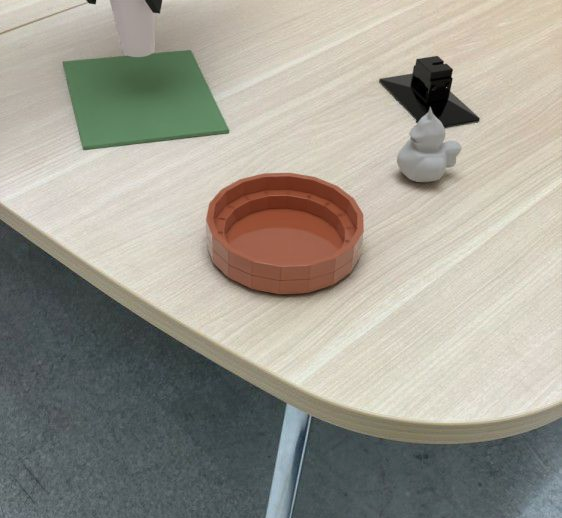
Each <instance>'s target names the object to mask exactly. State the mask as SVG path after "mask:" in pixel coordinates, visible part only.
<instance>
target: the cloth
mask: <svg viewBox="0 0 562 518" xmlns="http://www.w3.org/2000/svg"><path fill="white" fill-rule="evenodd" d="M62 66H63V70H64V75H65V78H66V79H65V80H66V82H67V83H66V84H67V87H68V91H69V95H70V99H71V104H72V108H73V113H74V116H75V121H76V125H77V129H78V133H79V137H80V142H81V145H82V150H92V149H101V148H109V147H110V148H111V147H119V146H127V145H137V144H144V143H154V142H163V141H170V140H178V139H186V138H187V139H188V138H197V137H205V136H213V135H221V134H229V133H230V129H229V126H228V125H227V123H226V119H225V118H224V117H223V114H222V111H221V110H220V108H219V106H218V104H217V102H216V100H215V97H214V96H213V94H212V91H211V89H210V87H209V85H208V83H207V81H206V78H205V77H204V75H203V72H202V71H201V69H200V67H199V64H198V62H197V59H196V58H195V56H194V53H193V52H192V50H191V49H184V50H175V51H163V52H153V53H152V54H151V55H148V56H144V57H131V56H127V55H119V56H108V57H97V58H87V59H76V60H64V61H62Z"/></svg>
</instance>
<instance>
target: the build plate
mask: <svg viewBox="0 0 562 518" xmlns="http://www.w3.org/2000/svg"><path fill="white" fill-rule="evenodd" d="M453 71H454V69H453V67H451V66H450V65H449V64H448V63H445V61H444V60H443V59H442V58H441V57H440V56H439V55H433V56H427V57H419V58H416V59H415V65H413V68H412V73H407V74H401V75H394V76H389V77H382V78H379V80H378V82H379V84H381V86H382V87H383V88H384V89H385V90H386V91H387V92H388V93H389V94H390V95H391V96H392V97H393V98H394V99H395V100H396V101H397V102H398V103H399V104H400V105H401V106H402V107H403V108H404V109H405V110H406V111H407V113H409V114H410V115H411V116H412V117H413V118H414V119H415V123H416V124H417V123H418V122H419V120H420V119H421V118H422V117H423V116H424V115H426V114H427V113H428V112H429V109H430V107H431V110H432V113H433V114H434V115H435V117H436V118H437V119H439V120H440V121H441V123H442V124H443V126H444V128H445V129H447V128H452V127H457V126H462V125H469V124H474V123H479V122H480V121H481V118H480V117H479V116H478V115H477V114H476V113H475V112H474V111H473V110H472V109H470V108H469V107H468V106H467V105H466V104H465V103H464V102H463V101H462V100H461V99H459V97H457V96H456V94H454V93H453V92H452V91H451V90H452V89H451V88H452V83H453Z"/></svg>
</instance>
